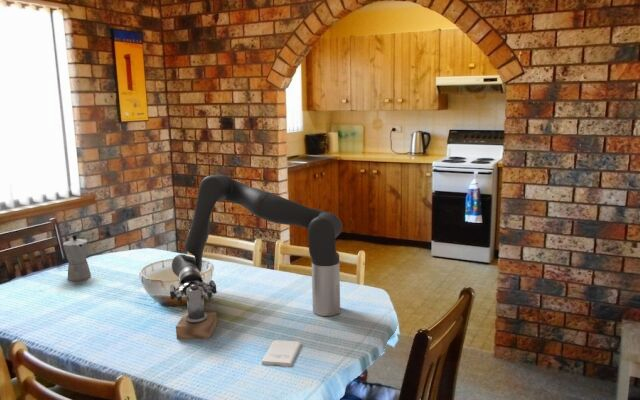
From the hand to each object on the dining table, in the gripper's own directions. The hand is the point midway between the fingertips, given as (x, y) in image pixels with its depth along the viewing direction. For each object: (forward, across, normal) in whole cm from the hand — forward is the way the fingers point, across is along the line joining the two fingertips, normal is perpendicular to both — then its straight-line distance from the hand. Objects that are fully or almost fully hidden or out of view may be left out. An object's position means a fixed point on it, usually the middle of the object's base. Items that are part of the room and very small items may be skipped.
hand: (195, 297), depth 161 cm
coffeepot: (-71, -42, +12) cm, 83 cm away
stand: (-1, 0, +12) cm, 12 cm away
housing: (-1, 0, +8) cm, 8 cm away
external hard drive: (+22, +21, +12) cm, 33 cm away
